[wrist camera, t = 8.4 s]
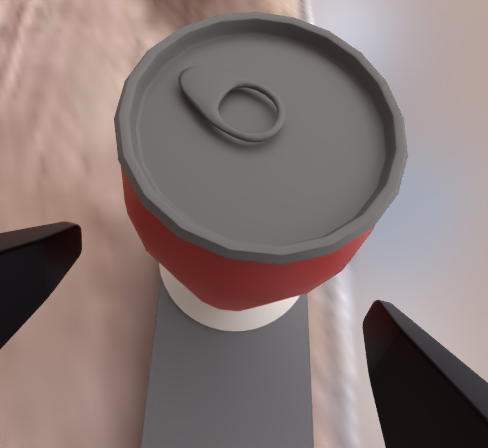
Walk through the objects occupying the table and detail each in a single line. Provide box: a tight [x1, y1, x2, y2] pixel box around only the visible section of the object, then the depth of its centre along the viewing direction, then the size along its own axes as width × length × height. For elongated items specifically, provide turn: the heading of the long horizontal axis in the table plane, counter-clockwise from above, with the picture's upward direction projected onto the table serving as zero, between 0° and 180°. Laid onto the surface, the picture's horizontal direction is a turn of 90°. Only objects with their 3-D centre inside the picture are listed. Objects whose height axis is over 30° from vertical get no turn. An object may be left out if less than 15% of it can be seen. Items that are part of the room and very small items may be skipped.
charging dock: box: [141, 263, 314, 448], centre depth 16 cm, size 18×9×2 cm, turn 179°
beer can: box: [114, 12, 408, 311], centre depth 11 cm, size 7×7×12 cm
